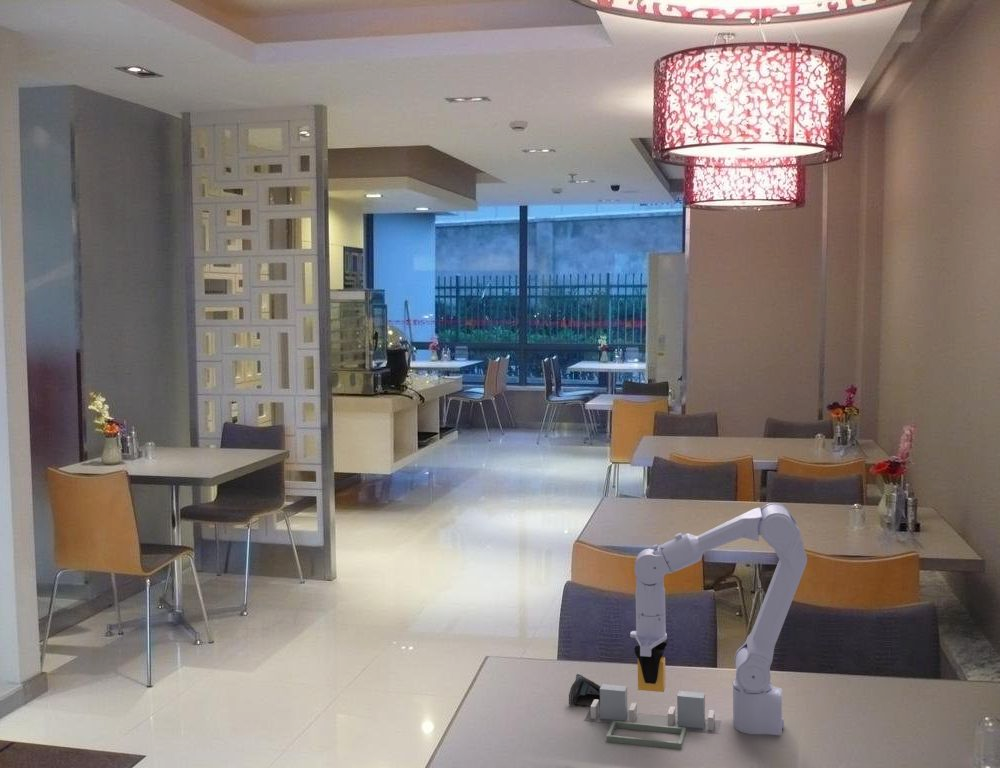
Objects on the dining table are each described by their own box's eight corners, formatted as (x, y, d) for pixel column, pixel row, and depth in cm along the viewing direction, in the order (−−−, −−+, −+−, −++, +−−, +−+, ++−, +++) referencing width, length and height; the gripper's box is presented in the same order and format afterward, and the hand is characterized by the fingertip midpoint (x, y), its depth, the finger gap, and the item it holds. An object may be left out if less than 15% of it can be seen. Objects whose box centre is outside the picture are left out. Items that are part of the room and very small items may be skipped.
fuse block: (721, 725, 199) (720, 708, 198) (718, 738, 193) (718, 721, 193) (590, 713, 206) (590, 696, 206) (584, 725, 201) (583, 708, 200)
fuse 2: (705, 722, 198) (704, 693, 197) (703, 728, 195) (703, 698, 195) (679, 720, 199) (678, 690, 199) (677, 725, 197) (677, 695, 196)
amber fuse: (665, 687, 199) (665, 657, 199) (663, 692, 197) (663, 662, 196) (640, 684, 201) (639, 655, 200) (638, 689, 198) (637, 660, 198)
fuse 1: (627, 715, 202) (627, 686, 202) (625, 720, 200) (624, 691, 199) (602, 713, 204) (602, 684, 203) (600, 718, 201) (599, 689, 201)
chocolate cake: (633, 704, 212) (594, 659, 215) (630, 708, 205) (590, 661, 208) (600, 735, 212) (561, 689, 215) (596, 740, 205) (556, 693, 208)
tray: (685, 737, 194) (685, 727, 194) (681, 754, 187) (681, 743, 187) (613, 730, 198) (613, 720, 198) (606, 746, 191) (606, 735, 191)
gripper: (636, 599, 206) (637, 664, 207) (623, 622, 192) (625, 692, 193) (671, 601, 203) (672, 667, 205) (661, 625, 190) (662, 695, 191)
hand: (651, 679), depth 199 cm, fingers closed on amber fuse, 3 cm apart
